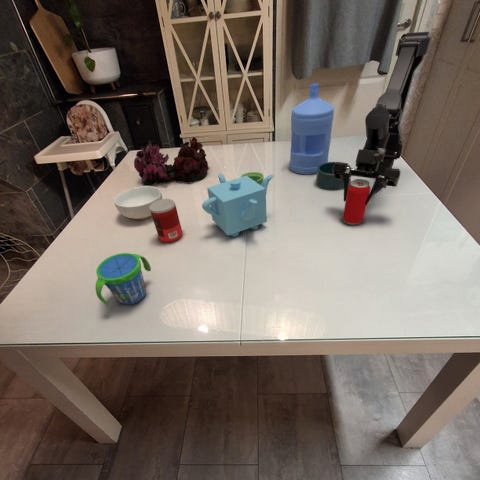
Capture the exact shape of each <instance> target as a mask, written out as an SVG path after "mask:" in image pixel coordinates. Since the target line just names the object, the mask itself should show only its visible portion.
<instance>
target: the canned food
mask: <svg viewBox="0 0 480 480" xmlns="http://www.w3.org/2000/svg"><path fill="white" fill-rule="evenodd" d="M149 208H150V212H151V215H152V216H151V218H152V221H153V225H154V228H155V230H156V233H157V236H158V239H159V240H160V242H162V243H166V244H170V243H175V242H177V241H179V240H180V239H181V238H182V236H183V229H182V225H181V221H180V217H179V213H178V209H177V206H176V202H175V201H174V199H171V198H162V200H158V201H155V202H154V203H152V204H151V205H150V207H149Z"/></svg>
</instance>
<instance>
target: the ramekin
mask: <svg viewBox="0 0 480 480" xmlns="http://www.w3.org/2000/svg"><path fill="white" fill-rule="evenodd" d="M244 176H248V177H249V178H251V179H252V180H254V181H255V182H257V183H258V184H259V185H261V184H262V182H263V180H264V179H265V175H264V174H263V173H262V172H259V171H249V172H245V173H243V174H241V176H240V178H241V177H244Z"/></svg>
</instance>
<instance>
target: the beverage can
mask: <svg viewBox="0 0 480 480" xmlns="http://www.w3.org/2000/svg"><path fill="white" fill-rule="evenodd" d="M370 191H371V185H370V181H369V180H367V179H363V178H357V179H353V180H351V184H350V185H349V187H348V190H347V196H346V201H345V203H344V207H343V214H342V221H343V222H344V223H346V224H348V225H358V224H361V223H362V222H363V221H364V218H365V213H366V209H367V205H365V204H366V201H367V198H368V196H369V194H370Z"/></svg>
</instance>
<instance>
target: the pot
mask: <svg viewBox="0 0 480 480" xmlns="http://www.w3.org/2000/svg"><path fill="white" fill-rule="evenodd" d="M336 162H337V161H328V162H326V163H323V164H321V165H319V166H318V167H317V173H316V180H315V185H316V187H318V188H319V189H322V190H325V191H339V190H342V189H344V182H341V179H335V178H334V177H333V173H332V168H333V165H334V164H335V163H336ZM341 162H342V161H341ZM342 163H344V161H343V162H342ZM348 167H349V168H352V167H351V165H350V164H348Z"/></svg>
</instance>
